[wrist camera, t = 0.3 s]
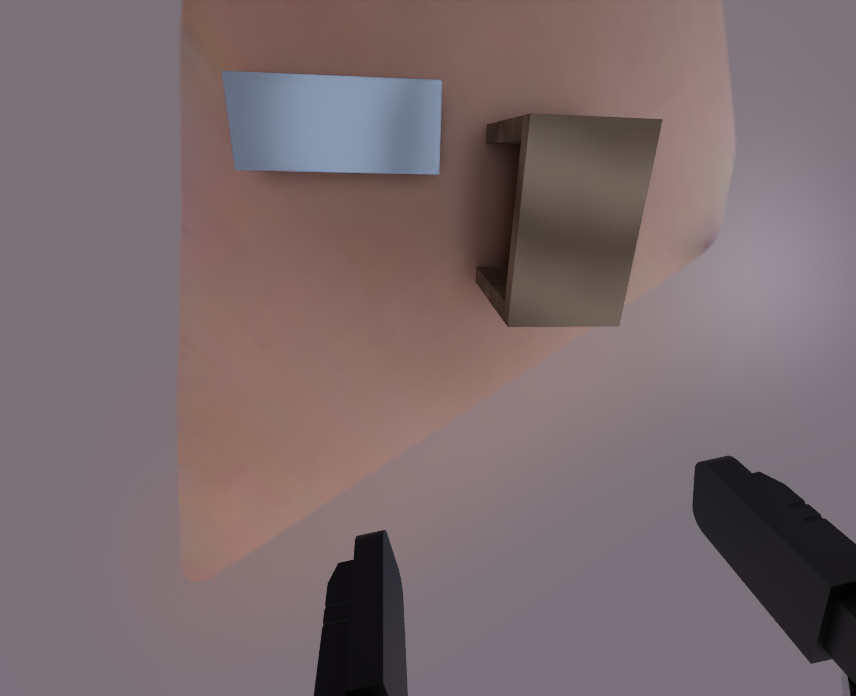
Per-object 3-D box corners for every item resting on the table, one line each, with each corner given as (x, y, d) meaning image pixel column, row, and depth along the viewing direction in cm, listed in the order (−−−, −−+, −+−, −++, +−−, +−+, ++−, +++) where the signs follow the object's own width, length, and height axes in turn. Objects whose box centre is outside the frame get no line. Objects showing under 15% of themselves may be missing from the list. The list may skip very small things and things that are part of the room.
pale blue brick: (250, 85, 30) (221, 70, 25) (431, 92, 31) (442, 80, 26) (260, 166, 32) (235, 170, 27) (429, 170, 33) (439, 174, 28)
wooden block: (487, 124, 32) (530, 113, 23) (582, 128, 33) (662, 119, 24) (475, 282, 37) (507, 326, 27) (559, 282, 37) (619, 326, 28)
